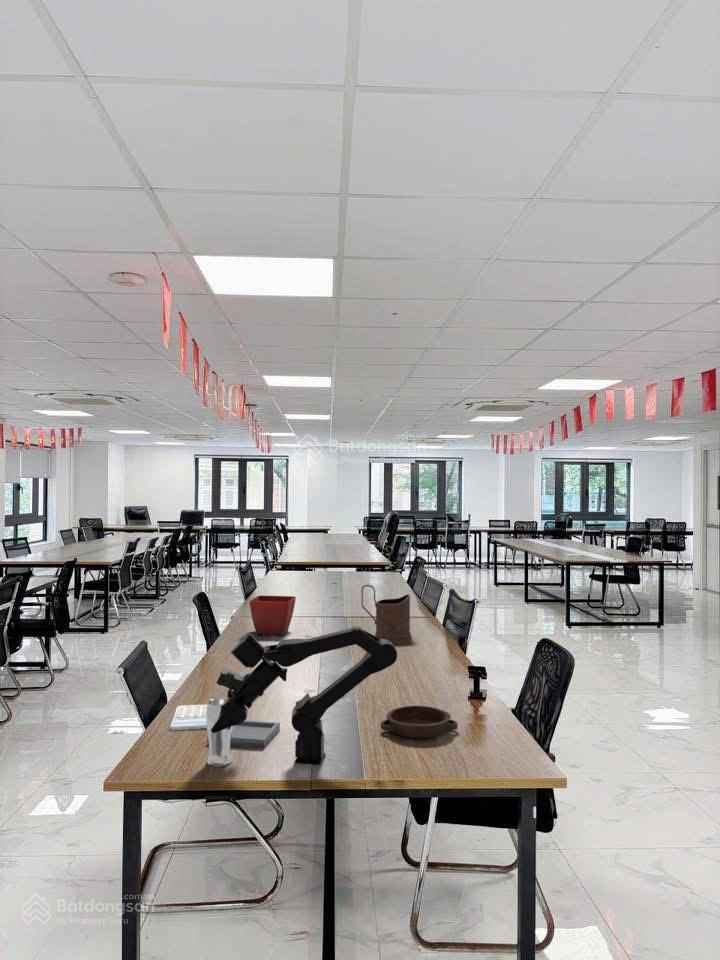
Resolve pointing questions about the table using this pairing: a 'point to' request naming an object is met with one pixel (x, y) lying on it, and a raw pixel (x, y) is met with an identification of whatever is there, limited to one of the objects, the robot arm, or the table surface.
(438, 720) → the dish
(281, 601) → the plant pot
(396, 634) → the brown pitcher
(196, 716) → the calculator
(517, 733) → the table surface
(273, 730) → the grey tray
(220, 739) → the silver metal cup
